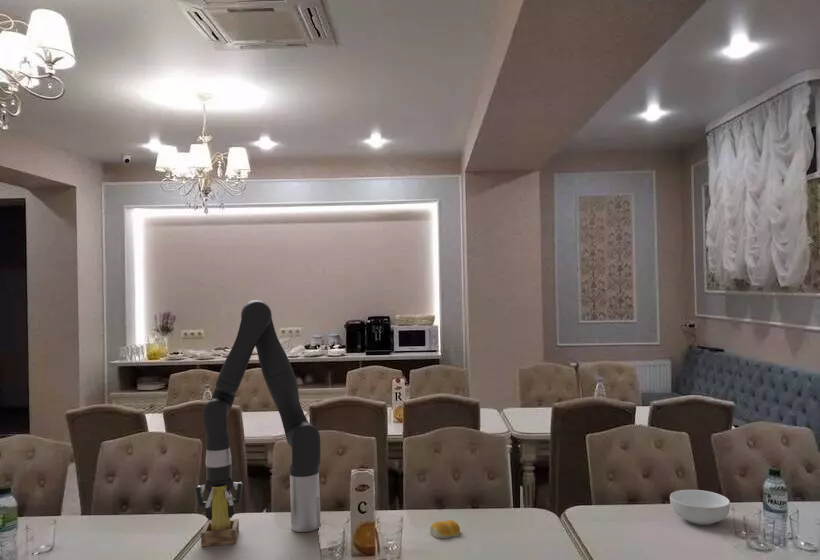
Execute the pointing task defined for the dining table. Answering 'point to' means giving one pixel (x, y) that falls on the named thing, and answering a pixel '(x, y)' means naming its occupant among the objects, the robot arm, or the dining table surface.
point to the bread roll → (444, 529)
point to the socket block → (220, 534)
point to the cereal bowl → (700, 506)
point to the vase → (219, 509)
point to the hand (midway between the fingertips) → (220, 517)
